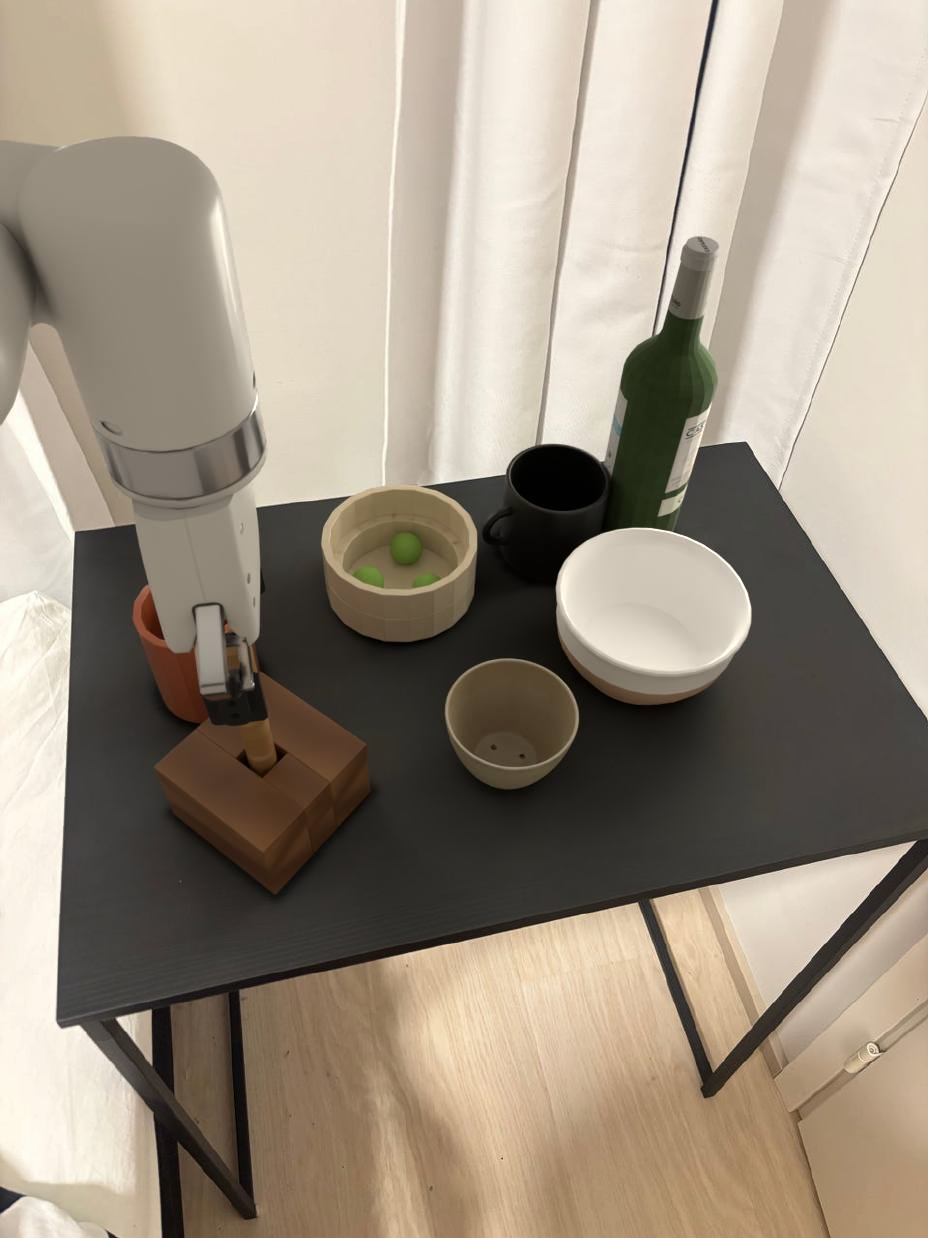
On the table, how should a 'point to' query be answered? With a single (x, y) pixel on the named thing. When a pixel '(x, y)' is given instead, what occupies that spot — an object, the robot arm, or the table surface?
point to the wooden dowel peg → (255, 729)
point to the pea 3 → (425, 580)
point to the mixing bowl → (365, 541)
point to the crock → (171, 663)
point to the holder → (268, 787)
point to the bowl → (650, 614)
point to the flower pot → (510, 721)
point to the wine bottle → (663, 405)
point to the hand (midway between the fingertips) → (240, 652)
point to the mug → (549, 508)
